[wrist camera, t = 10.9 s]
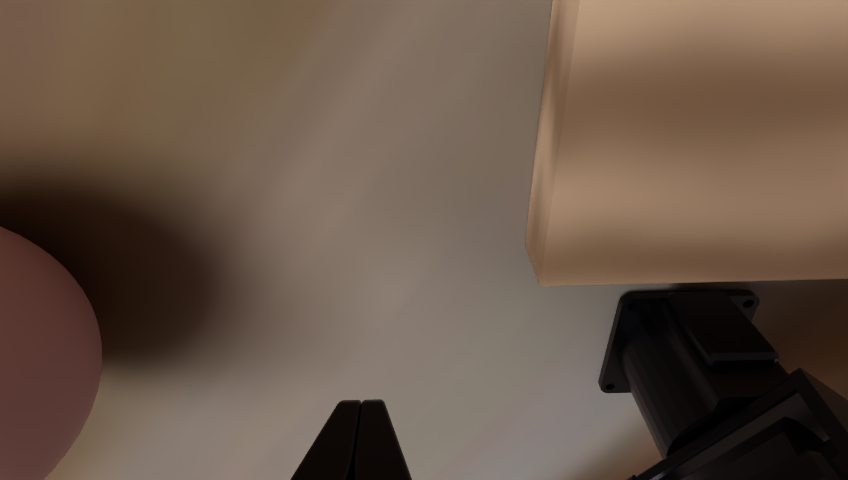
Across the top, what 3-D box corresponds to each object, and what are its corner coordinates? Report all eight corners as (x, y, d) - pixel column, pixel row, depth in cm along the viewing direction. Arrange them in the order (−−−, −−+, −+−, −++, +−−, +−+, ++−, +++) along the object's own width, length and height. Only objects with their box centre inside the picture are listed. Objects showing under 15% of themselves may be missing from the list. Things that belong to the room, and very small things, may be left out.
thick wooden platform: (881, 236, 22) (942, 276, 20) (525, 244, 22) (539, 286, 19) (1111, -167, 15) (1258, -186, 12) (570, -158, 14) (604, -175, 12)
